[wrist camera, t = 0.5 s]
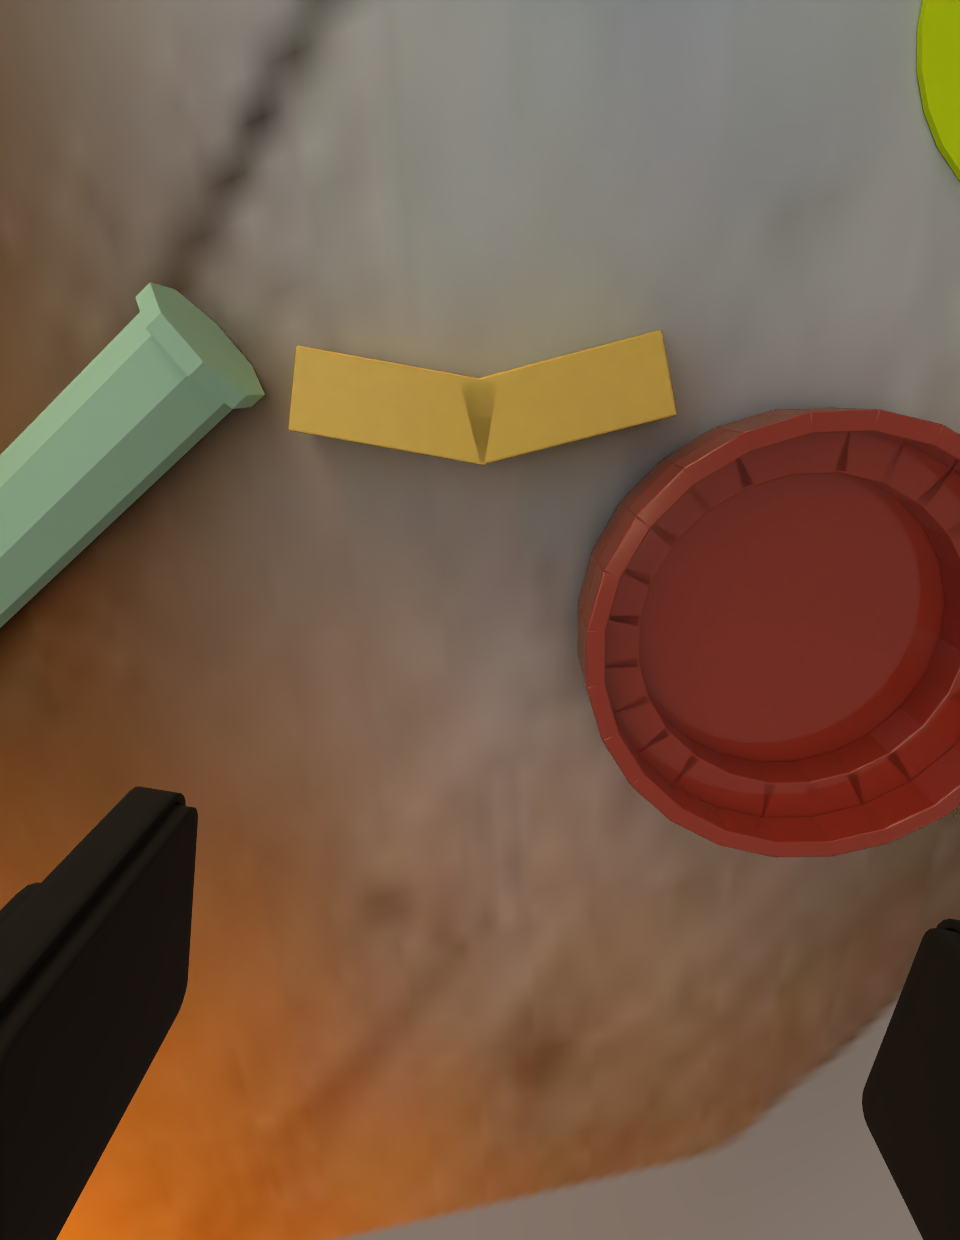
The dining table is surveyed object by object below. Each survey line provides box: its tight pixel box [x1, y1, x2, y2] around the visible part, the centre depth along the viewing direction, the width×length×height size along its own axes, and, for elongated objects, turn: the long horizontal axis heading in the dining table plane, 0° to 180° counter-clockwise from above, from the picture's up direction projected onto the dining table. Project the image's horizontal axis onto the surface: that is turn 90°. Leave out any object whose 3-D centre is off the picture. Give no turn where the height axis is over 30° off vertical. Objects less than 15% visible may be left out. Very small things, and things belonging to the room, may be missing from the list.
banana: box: [289, 330, 677, 465], centre depth 33 cm, size 5×16×3 cm, turn 92°
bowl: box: [578, 408, 960, 857], centre depth 34 cm, size 20×20×5 cm
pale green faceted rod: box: [0, 283, 265, 628], centre depth 34 cm, size 6×6×25 cm
